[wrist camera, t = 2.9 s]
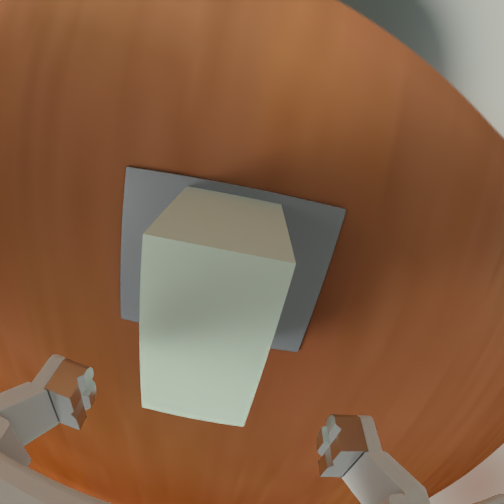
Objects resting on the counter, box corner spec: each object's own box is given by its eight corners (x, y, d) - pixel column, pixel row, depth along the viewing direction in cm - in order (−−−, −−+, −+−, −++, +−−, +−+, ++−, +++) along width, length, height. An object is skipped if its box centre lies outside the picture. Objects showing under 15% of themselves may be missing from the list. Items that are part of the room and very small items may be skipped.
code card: (122, 316, 20) (121, 318, 20) (127, 166, 16) (126, 167, 16) (297, 350, 21) (297, 352, 21) (345, 208, 17) (346, 209, 17)
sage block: (171, 324, 20) (141, 407, 14) (186, 186, 16) (143, 233, 10) (247, 338, 20) (243, 426, 14) (281, 204, 17) (296, 263, 10)
